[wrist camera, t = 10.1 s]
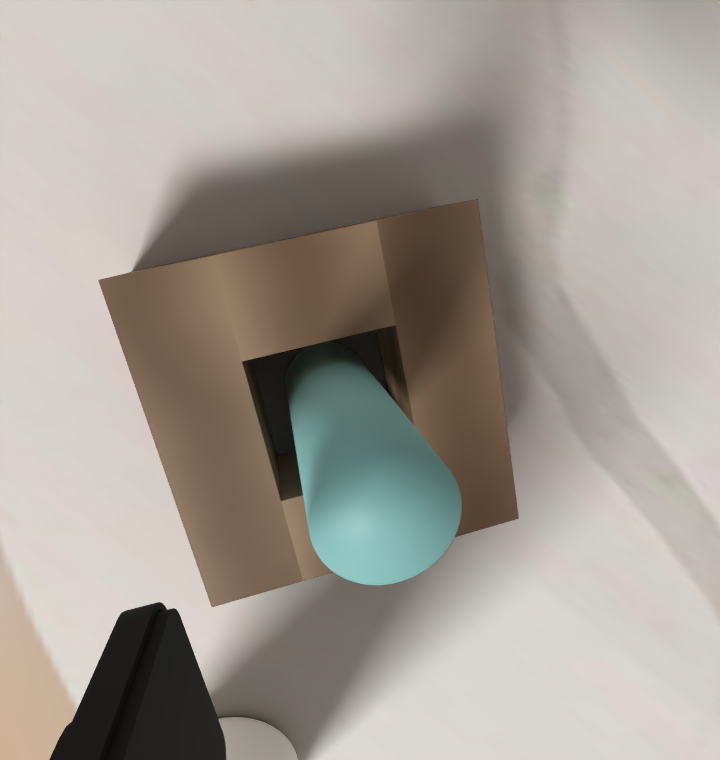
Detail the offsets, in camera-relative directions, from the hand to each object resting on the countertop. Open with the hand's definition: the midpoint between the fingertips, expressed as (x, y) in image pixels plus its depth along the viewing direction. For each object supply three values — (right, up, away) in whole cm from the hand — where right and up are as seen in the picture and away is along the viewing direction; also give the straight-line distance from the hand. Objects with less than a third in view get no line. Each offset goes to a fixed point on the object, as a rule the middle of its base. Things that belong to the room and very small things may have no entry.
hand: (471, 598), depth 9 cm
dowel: (-3, +4, +13) cm, 14 cm away
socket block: (-3, +3, +13) cm, 14 cm away
